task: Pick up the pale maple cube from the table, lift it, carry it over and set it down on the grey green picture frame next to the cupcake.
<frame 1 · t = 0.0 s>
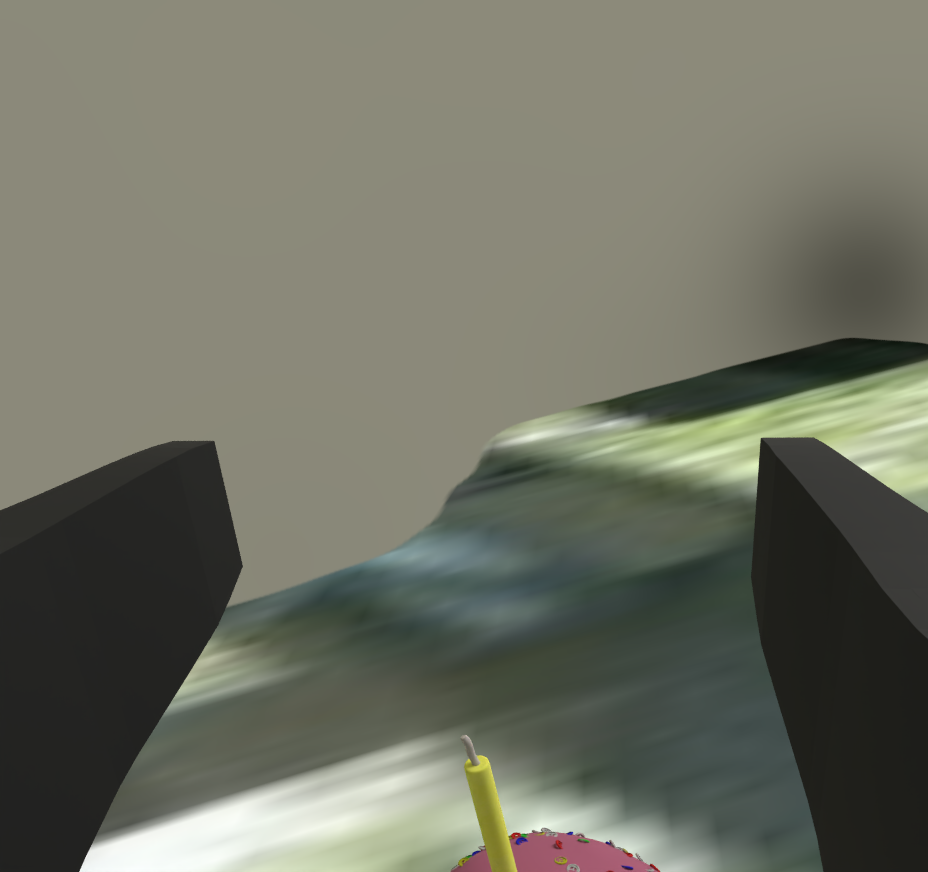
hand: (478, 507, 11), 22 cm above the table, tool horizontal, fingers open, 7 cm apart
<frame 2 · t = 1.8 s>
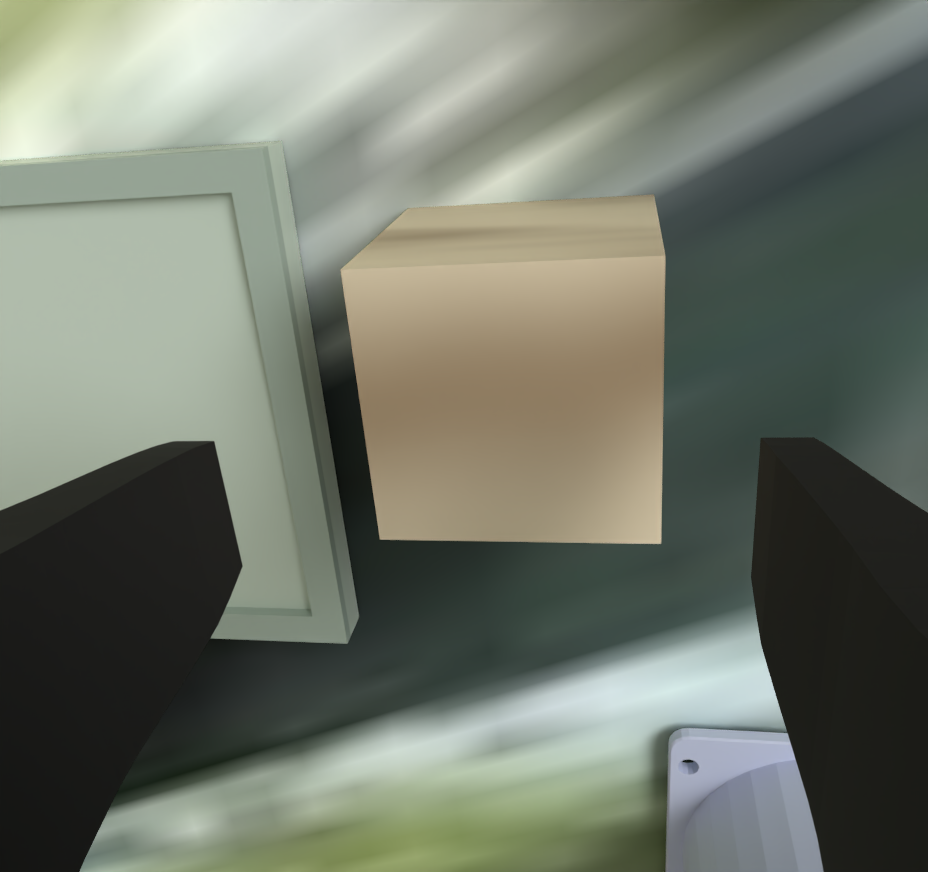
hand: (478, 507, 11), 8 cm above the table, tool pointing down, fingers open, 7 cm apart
grey green picture frame: (130, 410, 21), on the table
maple cube: (534, 318, 19), on the table
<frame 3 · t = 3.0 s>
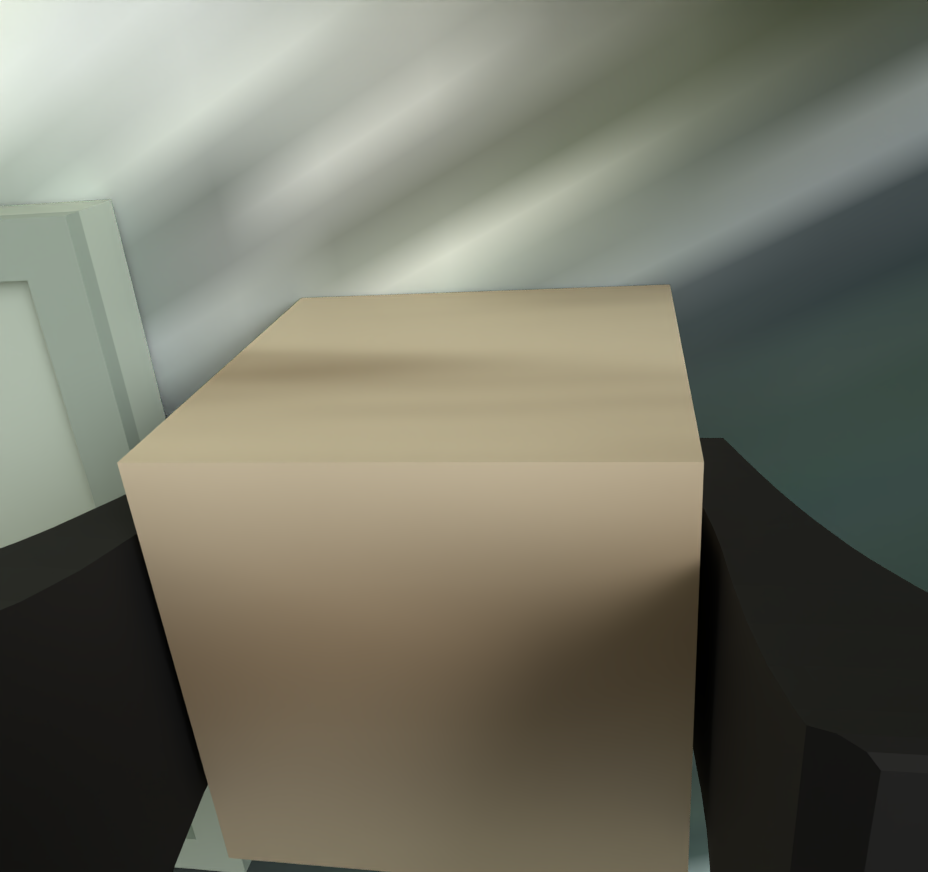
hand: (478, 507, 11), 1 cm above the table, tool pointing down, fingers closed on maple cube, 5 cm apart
maple cube: (491, 457, 13), on the table, touching gripper
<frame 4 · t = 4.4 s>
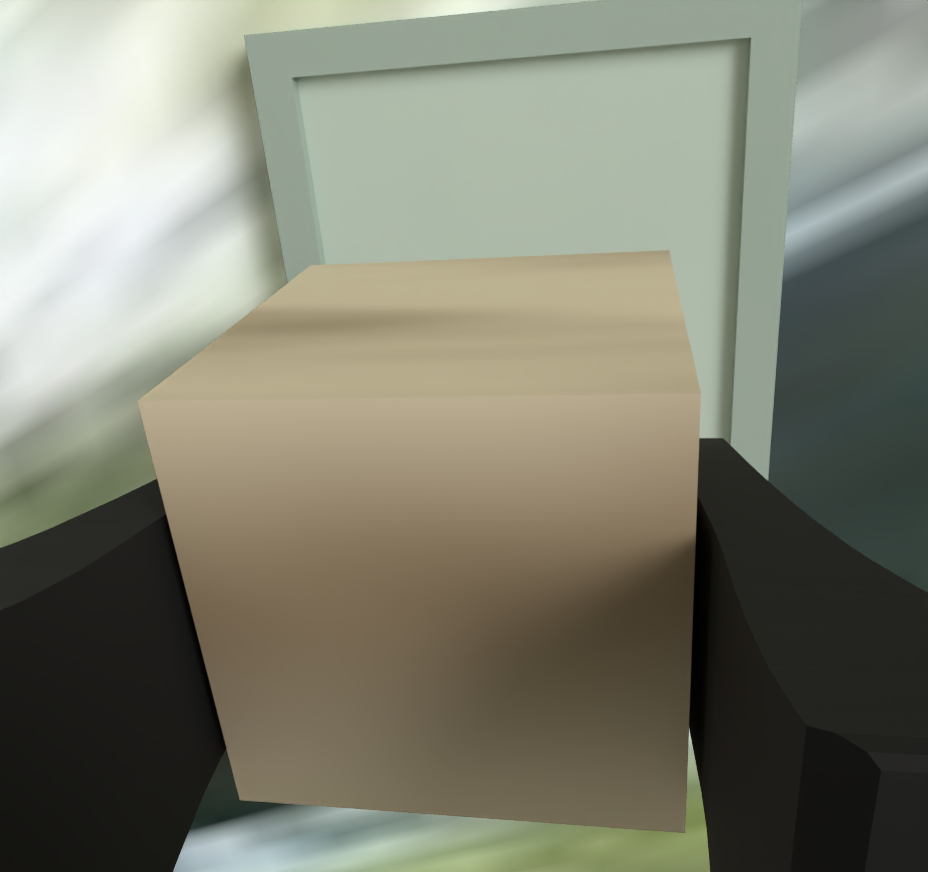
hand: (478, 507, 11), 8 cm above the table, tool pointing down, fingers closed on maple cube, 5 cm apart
grey green picture frame: (530, 314, 19), on the table
maple cube: (494, 423, 13), point 7 cm above the table, touching gripper
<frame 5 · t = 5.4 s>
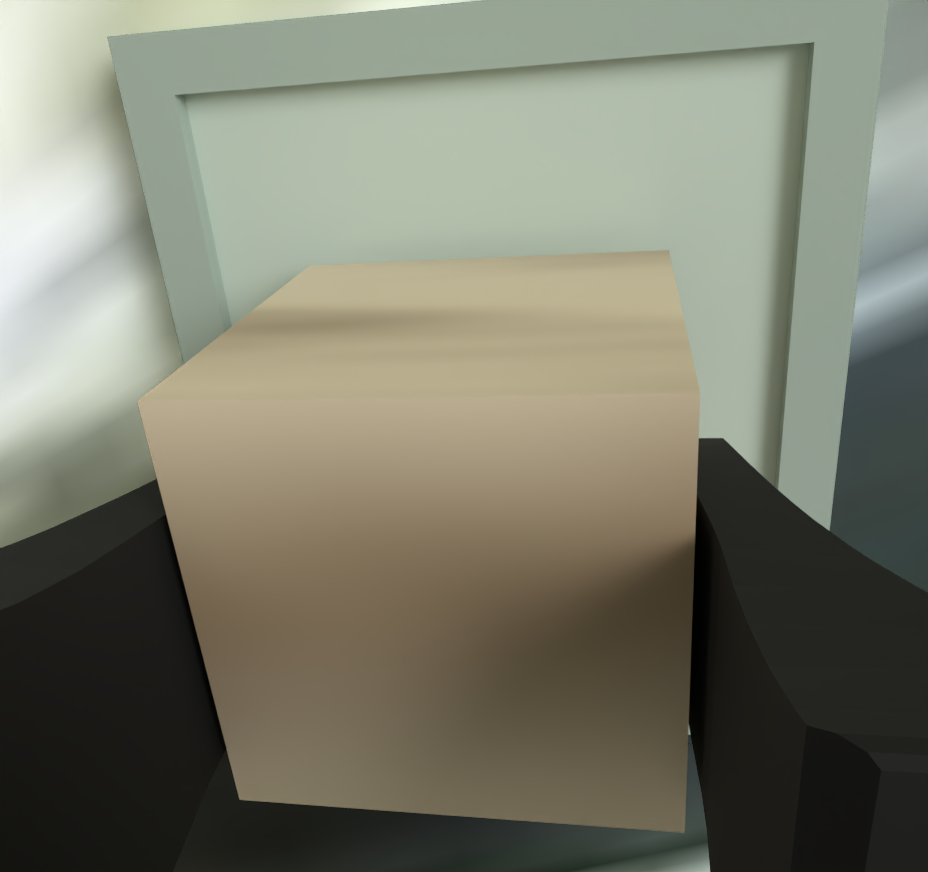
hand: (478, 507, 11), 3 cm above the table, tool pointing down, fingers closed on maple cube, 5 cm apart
grey green picture frame: (507, 403, 14), on the table
maple cube: (494, 423, 13), point 1 cm above the table, touching gripper
when the fingers open (3 cm above the table, at t = 5.8 s): maple cube stays where it is, resting on grey green picture frame.
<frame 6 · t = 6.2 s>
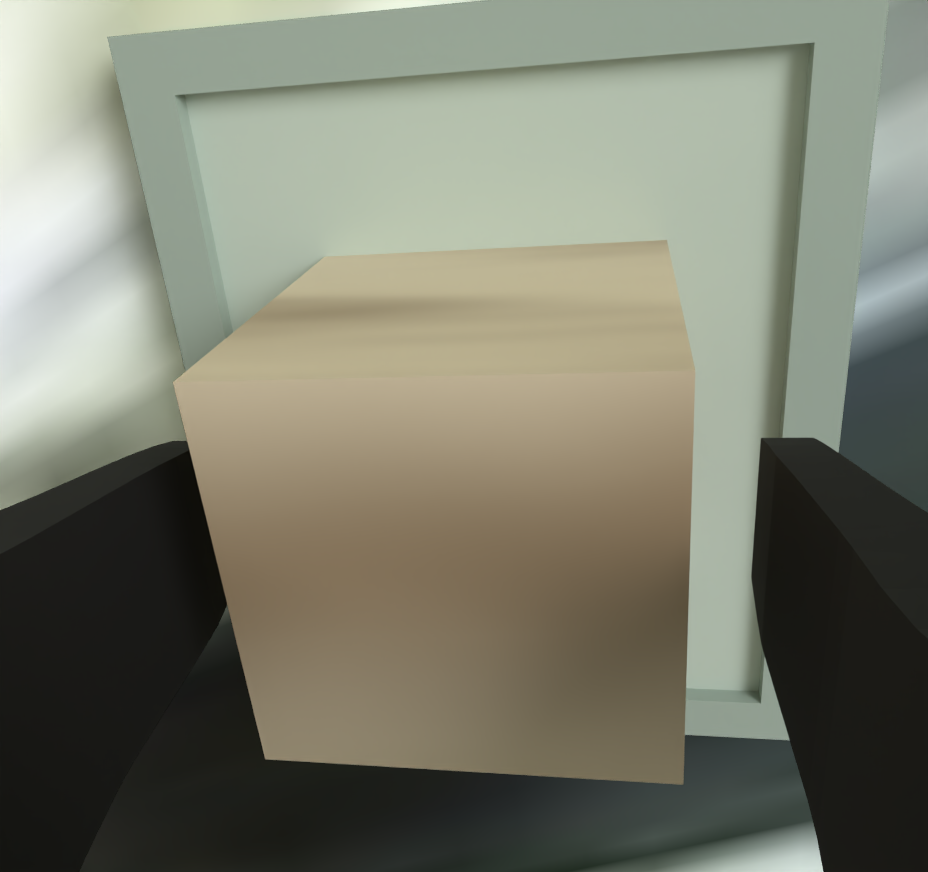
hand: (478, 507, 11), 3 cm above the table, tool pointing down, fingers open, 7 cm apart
grey green picture frame: (507, 404, 14), on the table
maple cube: (501, 406, 14), point 1 cm above the table, touching grey green picture frame
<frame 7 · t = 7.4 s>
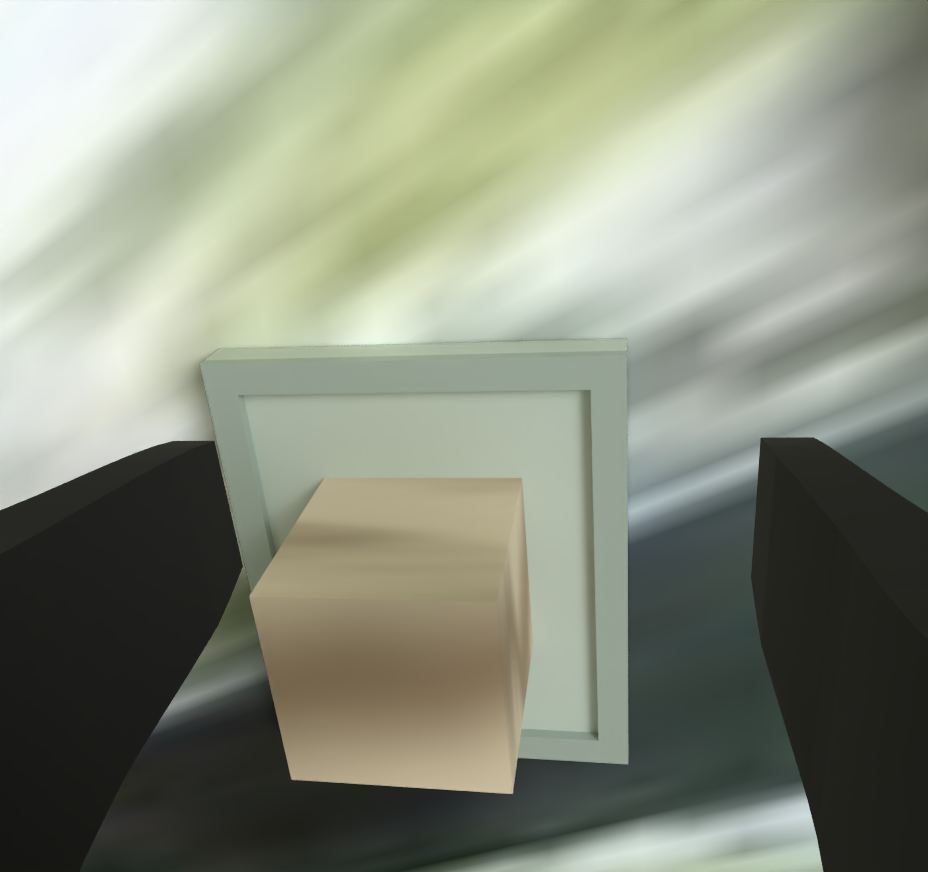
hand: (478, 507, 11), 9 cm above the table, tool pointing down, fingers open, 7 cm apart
grey green picture frame: (437, 555, 23), on the table
maple cube: (431, 563, 22), point 1 cm above the table, touching grey green picture frame
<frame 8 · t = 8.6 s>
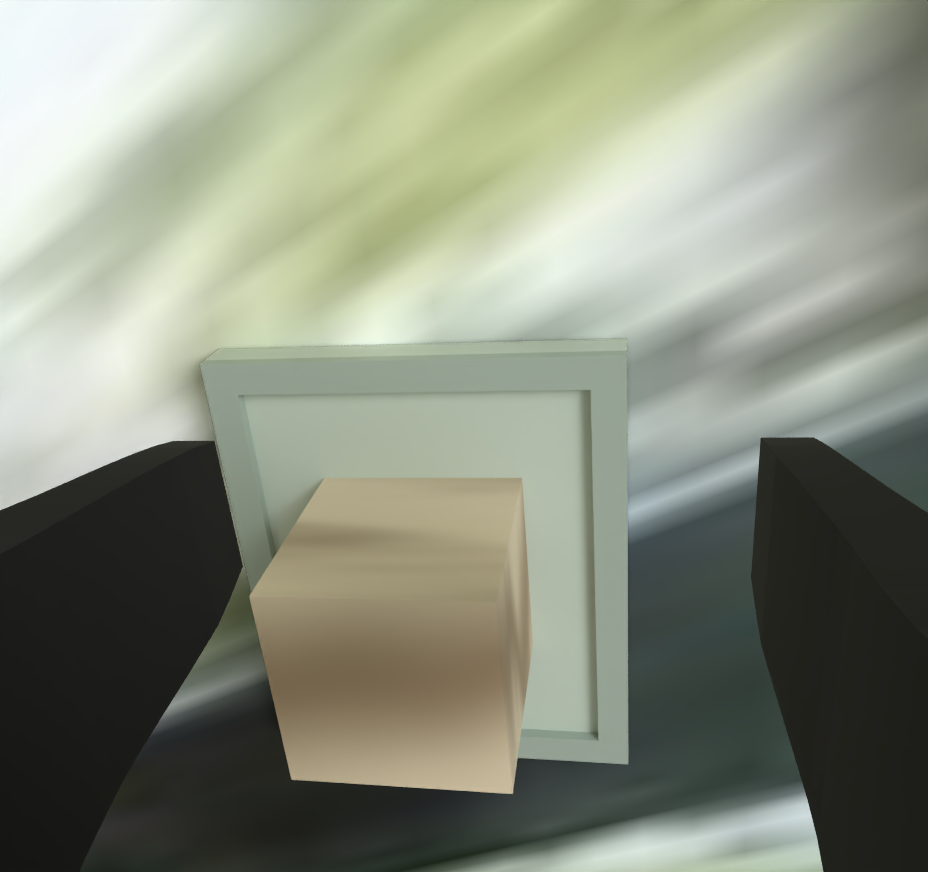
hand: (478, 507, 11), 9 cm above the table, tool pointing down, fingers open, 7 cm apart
grey green picture frame: (437, 555, 23), on the table
maple cube: (431, 563, 22), point 1 cm above the table, touching grey green picture frame
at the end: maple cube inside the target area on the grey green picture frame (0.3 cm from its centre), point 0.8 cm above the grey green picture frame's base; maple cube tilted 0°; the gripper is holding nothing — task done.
